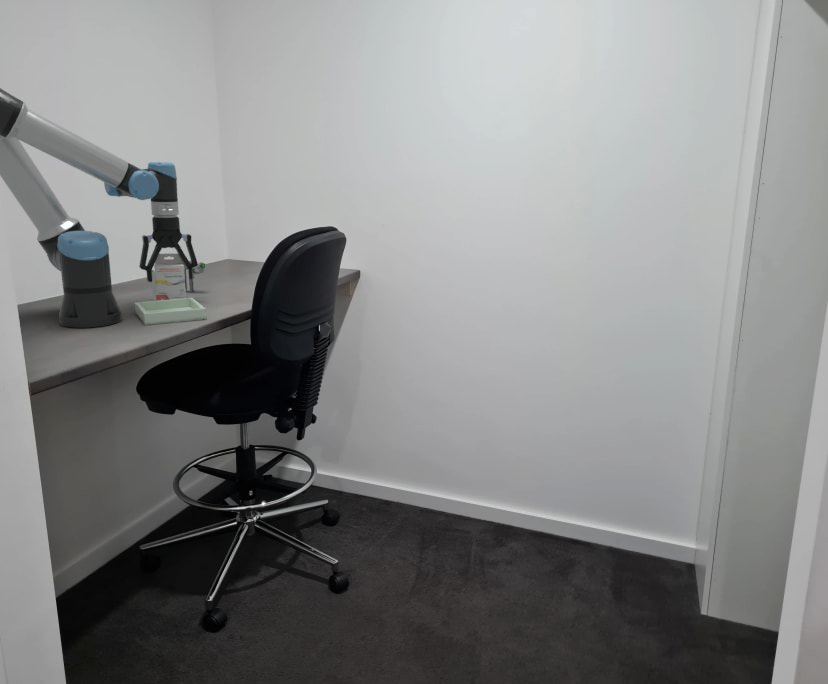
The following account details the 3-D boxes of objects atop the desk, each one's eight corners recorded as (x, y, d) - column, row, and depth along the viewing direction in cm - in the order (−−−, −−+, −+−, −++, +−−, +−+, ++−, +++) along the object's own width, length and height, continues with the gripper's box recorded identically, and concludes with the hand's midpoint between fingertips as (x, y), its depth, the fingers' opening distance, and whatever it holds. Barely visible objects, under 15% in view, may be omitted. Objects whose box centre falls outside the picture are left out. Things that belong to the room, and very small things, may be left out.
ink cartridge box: (156, 304, 201) (152, 255, 197) (157, 301, 206) (153, 253, 202) (186, 303, 204) (183, 255, 200) (186, 300, 208) (183, 252, 204)
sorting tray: (145, 325, 177) (144, 314, 176) (135, 312, 190) (134, 302, 190) (206, 319, 185) (206, 308, 184) (192, 307, 198) (192, 297, 198)
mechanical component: (203, 293, 218) (201, 263, 216) (174, 291, 220) (172, 261, 218) (207, 291, 221) (205, 261, 218) (179, 290, 223) (177, 260, 220)
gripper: (127, 218, 189) (134, 296, 195) (206, 216, 200) (210, 290, 206) (123, 215, 195) (130, 291, 201) (200, 214, 206) (204, 286, 212)
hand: (170, 290), depth 204 cm, fingers closed on ink cartridge box, 9 cm apart
